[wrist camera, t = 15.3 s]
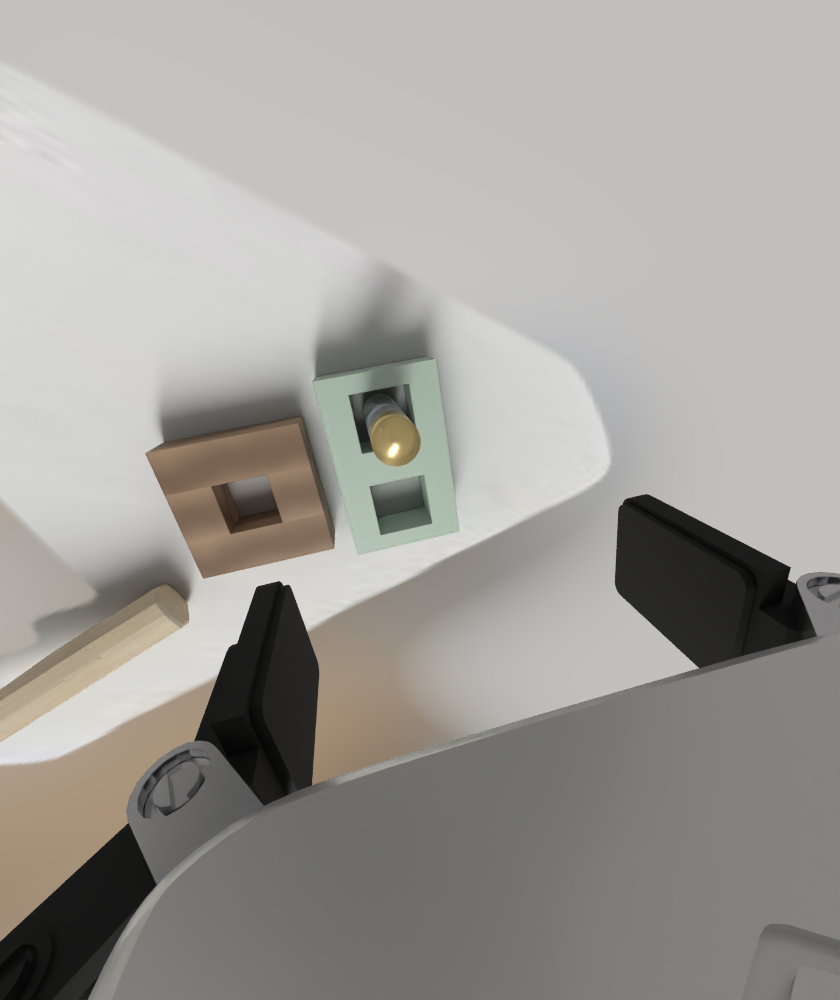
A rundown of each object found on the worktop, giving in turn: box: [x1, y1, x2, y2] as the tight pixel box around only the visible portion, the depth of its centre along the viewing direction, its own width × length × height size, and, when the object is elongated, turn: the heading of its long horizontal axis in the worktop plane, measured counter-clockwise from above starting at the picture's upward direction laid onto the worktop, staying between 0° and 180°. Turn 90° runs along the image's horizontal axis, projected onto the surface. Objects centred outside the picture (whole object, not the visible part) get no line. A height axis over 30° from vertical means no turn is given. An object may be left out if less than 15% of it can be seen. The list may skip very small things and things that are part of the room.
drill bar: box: [363, 394, 421, 466], centre depth 31 cm, size 3×3×12 cm
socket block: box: [145, 416, 335, 579], centre depth 36 cm, size 12×12×4 cm
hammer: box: [0, 584, 189, 742], centre depth 35 cm, size 16×5×30 cm
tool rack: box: [312, 357, 460, 555], centre depth 36 cm, size 16×10×4 cm, turn 9°
